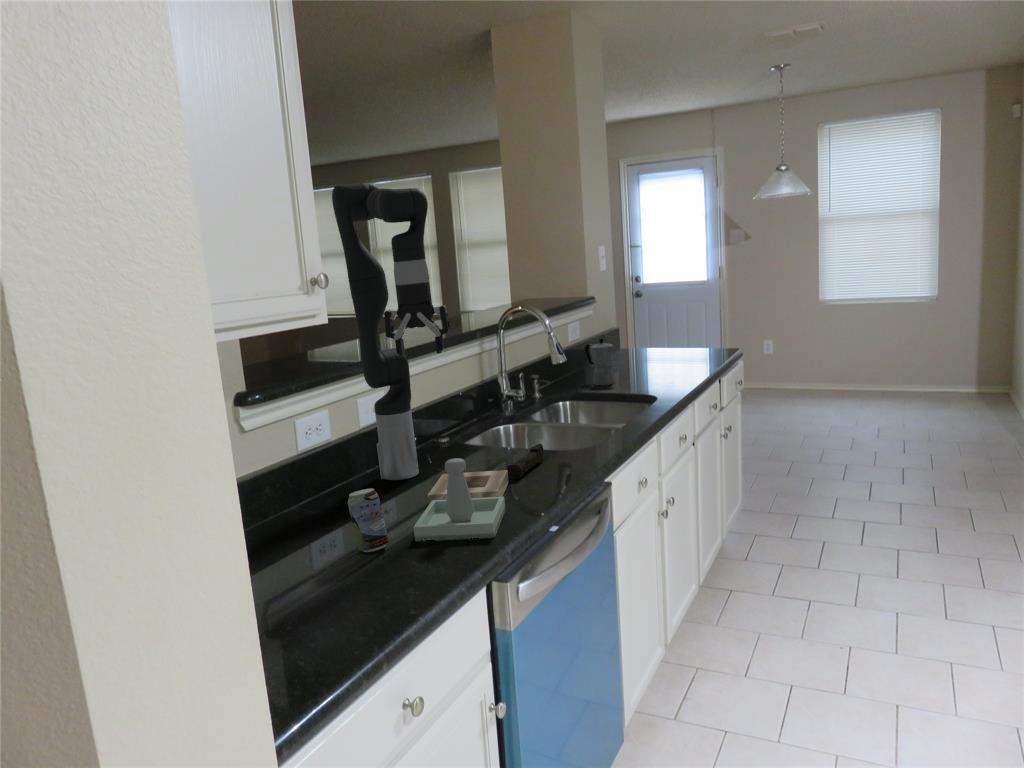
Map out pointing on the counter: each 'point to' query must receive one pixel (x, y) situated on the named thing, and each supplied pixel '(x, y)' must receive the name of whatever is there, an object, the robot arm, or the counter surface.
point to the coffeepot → (601, 362)
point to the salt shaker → (458, 492)
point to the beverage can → (367, 520)
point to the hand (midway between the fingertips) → (420, 354)
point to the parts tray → (442, 528)
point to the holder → (474, 485)
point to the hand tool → (526, 462)
